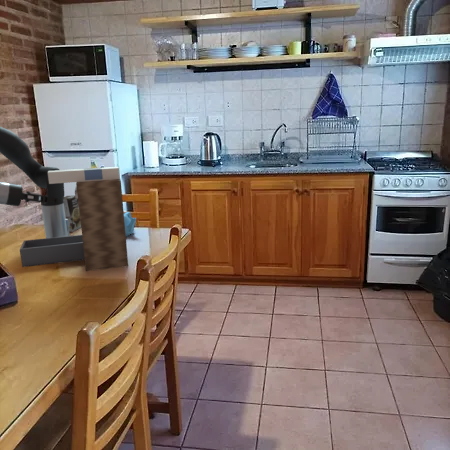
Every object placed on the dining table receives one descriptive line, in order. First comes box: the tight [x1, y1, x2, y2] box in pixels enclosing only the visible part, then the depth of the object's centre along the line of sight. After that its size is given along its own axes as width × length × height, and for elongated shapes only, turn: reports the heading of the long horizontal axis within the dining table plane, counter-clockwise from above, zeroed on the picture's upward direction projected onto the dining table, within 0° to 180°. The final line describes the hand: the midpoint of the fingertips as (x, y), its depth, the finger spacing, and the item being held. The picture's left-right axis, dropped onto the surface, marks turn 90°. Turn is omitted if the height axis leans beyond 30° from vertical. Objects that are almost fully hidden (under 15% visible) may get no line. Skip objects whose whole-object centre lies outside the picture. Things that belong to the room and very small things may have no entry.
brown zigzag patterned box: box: [74, 178, 129, 272], centre depth 162 cm, size 16×12×32 cm
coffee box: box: [63, 195, 81, 233], centre depth 213 cm, size 9×6×16 cm
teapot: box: [124, 211, 137, 237], centre depth 203 cm, size 15×15×11 cm
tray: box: [19, 234, 85, 268], centre depth 173 cm, size 31×12×7 cm, turn 107°
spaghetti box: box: [48, 166, 121, 184], centre depth 156 cm, size 24×4×4 cm, turn 107°
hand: (54, 200), depth 159 cm, fingers open, 8 cm apart
